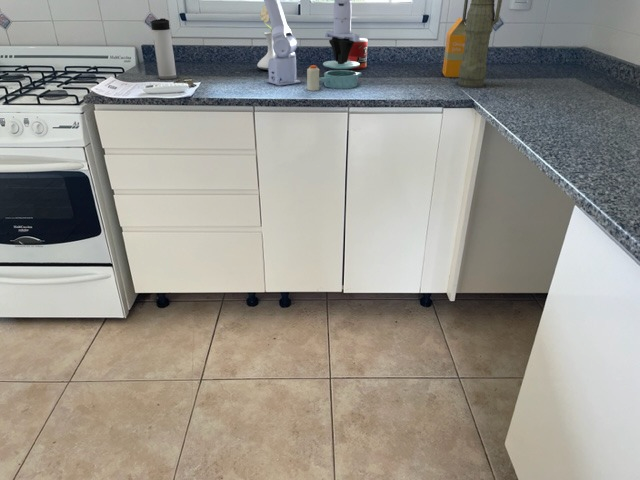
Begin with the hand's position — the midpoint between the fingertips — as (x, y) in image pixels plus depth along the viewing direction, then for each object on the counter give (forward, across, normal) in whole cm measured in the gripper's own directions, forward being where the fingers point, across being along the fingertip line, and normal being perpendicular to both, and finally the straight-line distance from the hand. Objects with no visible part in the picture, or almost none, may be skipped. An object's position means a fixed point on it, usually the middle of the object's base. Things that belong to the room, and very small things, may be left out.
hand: (341, 61), depth 167 cm
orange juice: (+8, -15, -46) cm, 49 cm away
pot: (+8, 0, 0) cm, 8 cm away
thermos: (+8, -30, -34) cm, 47 cm away
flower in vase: (+8, +39, +1) cm, 40 cm away
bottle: (+8, +1, +12) cm, 14 cm away
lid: (+1, 0, 0) cm, 1 cm away
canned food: (+8, +20, -29) cm, 36 cm away
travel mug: (+8, +52, +40) cm, 66 cm away
